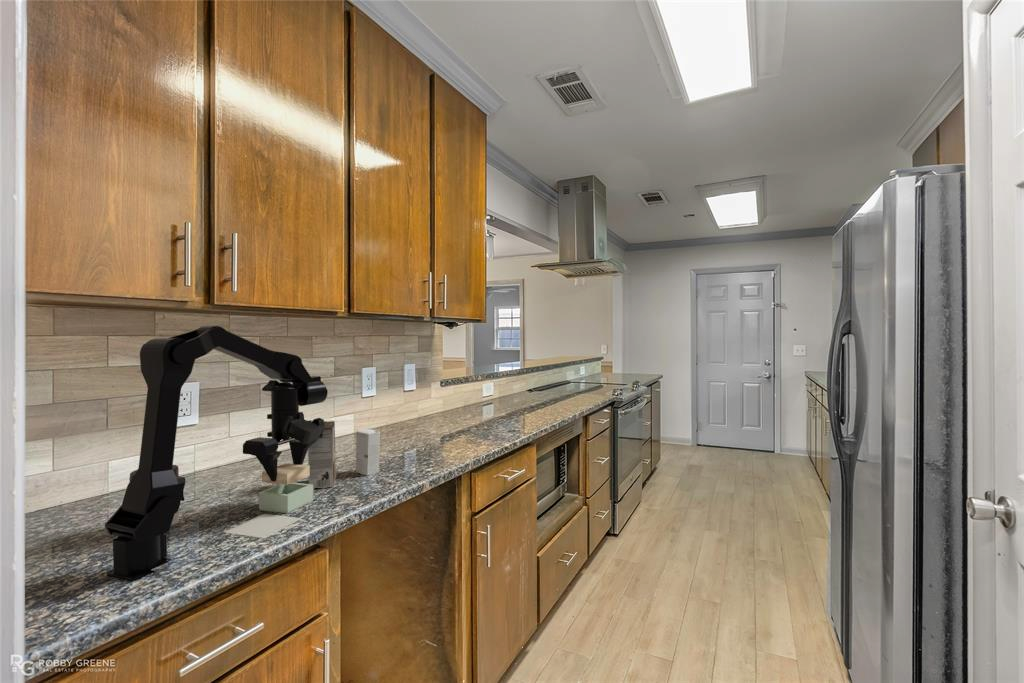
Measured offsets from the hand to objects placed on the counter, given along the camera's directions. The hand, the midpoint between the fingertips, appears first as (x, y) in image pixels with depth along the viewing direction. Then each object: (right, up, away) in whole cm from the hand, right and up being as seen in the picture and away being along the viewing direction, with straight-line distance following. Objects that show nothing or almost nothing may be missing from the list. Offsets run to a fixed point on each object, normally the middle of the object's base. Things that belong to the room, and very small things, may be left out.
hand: (286, 476), depth 107 cm
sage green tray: (0, -7, 0) cm, 7 cm away
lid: (0, -1, 0) cm, 1 cm away
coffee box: (+1, -7, +18) cm, 19 cm away
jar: (-23, -8, -10) cm, 26 cm away
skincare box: (+10, -7, +27) cm, 30 cm away
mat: (+1, -8, -11) cm, 13 cm away
